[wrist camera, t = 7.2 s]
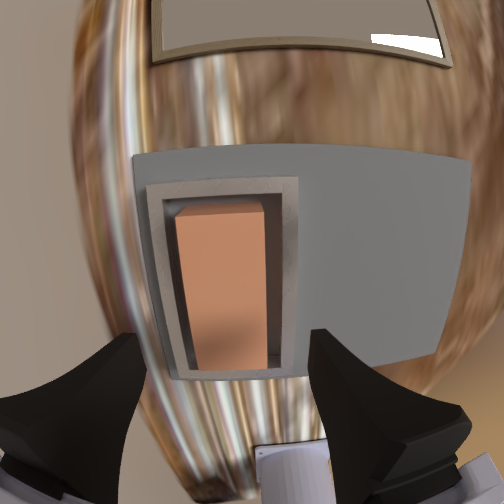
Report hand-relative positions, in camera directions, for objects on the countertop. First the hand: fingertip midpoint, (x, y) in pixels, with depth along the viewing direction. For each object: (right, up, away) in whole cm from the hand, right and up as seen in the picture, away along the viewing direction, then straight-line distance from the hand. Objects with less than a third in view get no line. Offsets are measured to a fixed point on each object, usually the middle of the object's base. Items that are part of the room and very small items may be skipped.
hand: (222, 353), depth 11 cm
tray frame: (0, +2, +6) cm, 7 cm away
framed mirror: (+4, +29, -2) cm, 29 cm away
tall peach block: (0, +2, +6) cm, 6 cm away
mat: (+6, +2, +6) cm, 9 cm away
